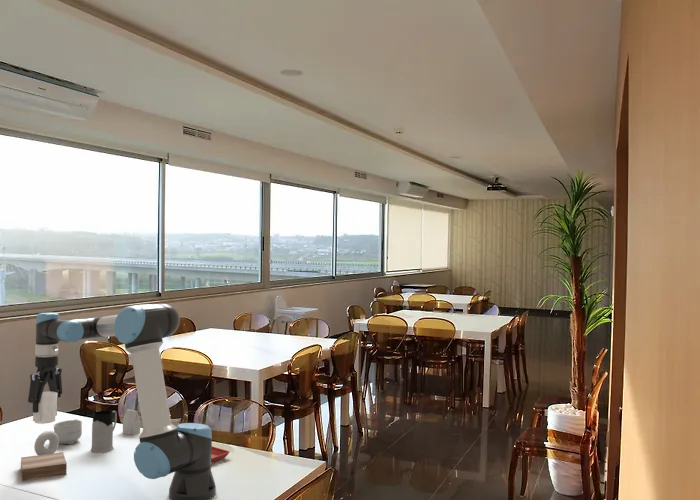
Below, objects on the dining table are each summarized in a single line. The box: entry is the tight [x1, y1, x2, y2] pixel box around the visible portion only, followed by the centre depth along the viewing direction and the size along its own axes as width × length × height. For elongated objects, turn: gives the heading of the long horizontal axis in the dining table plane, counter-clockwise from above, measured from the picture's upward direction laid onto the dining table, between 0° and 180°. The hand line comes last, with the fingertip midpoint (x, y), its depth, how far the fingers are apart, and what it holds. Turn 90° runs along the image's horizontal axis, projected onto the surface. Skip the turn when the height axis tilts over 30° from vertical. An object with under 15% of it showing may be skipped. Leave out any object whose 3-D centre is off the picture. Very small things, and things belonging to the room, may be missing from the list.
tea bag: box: [122, 408, 141, 436], centre depth 271 cm, size 4×7×10 cm, turn 61°
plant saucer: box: [211, 446, 230, 464], centre depth 237 cm, size 18×18×3 cm
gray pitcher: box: [89, 409, 118, 454], centre depth 250 cm, size 9×14×15 cm, turn 170°
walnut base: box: [20, 451, 68, 482], centre depth 221 cm, size 14×14×4 cm
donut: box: [33, 430, 60, 456], centre depth 237 cm, size 10×4×10 cm, turn 155°
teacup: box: [53, 418, 83, 445], centre depth 258 cm, size 14×11×8 cm
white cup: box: [34, 390, 58, 425], centre depth 221 cm, size 8×8×10 cm
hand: (45, 418), depth 221 cm, fingers closed on white cup, 8 cm apart
